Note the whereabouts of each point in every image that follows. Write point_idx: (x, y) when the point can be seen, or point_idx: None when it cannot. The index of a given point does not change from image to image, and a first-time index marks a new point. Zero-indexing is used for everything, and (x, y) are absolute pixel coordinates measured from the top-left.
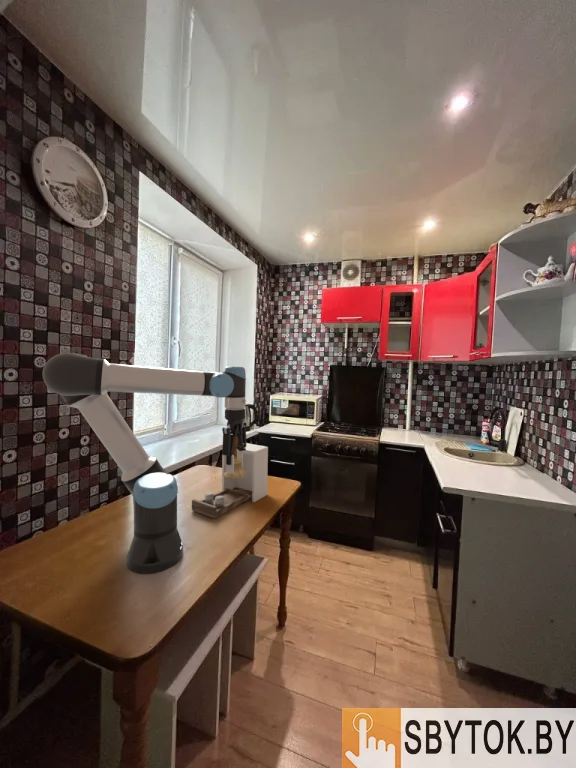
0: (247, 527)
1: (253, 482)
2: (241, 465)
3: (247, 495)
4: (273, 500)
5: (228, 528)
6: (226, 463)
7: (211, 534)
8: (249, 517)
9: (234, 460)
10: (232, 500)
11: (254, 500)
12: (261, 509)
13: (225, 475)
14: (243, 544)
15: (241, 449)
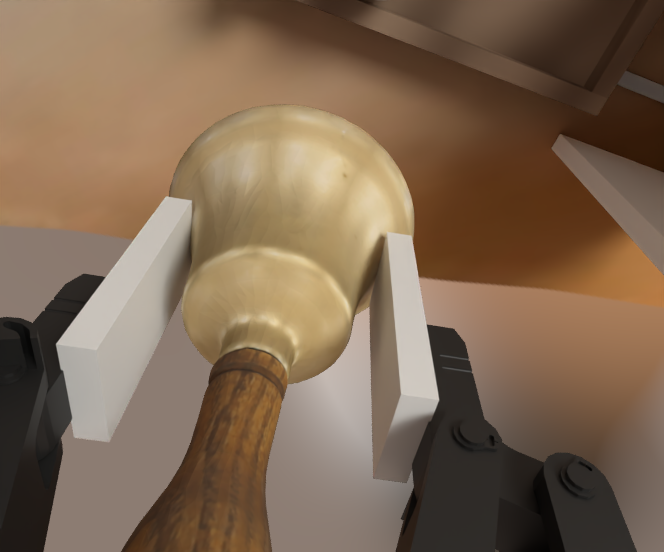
0: None
1: (610, 201)
2: (370, 318)
3: (585, 110)
4: (584, 250)
5: (191, 114)
6: (67, 286)
7: (94, 45)
8: None
9: (217, 349)
10: (521, 6)
11: (558, 154)
12: (453, 217)
13: (187, 164)
14: (99, 232)
15: (414, 486)
